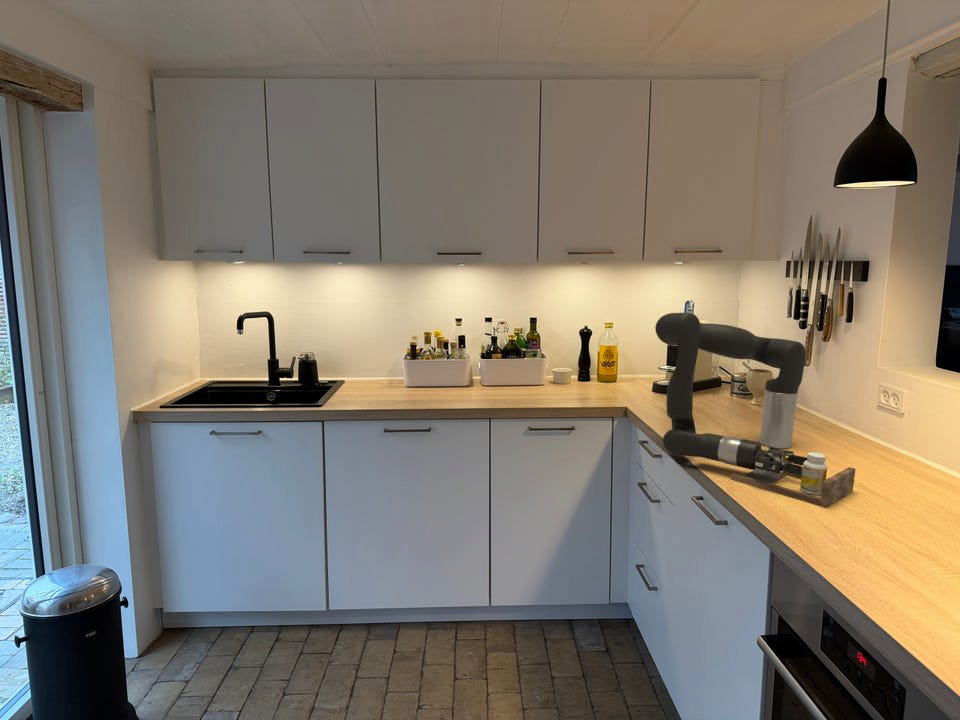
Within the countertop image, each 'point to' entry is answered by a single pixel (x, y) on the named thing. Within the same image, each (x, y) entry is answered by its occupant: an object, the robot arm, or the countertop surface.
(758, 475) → the front mat
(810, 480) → the supplement bottle
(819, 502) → the bay
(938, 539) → the countertop surface
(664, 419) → the countertop surface
